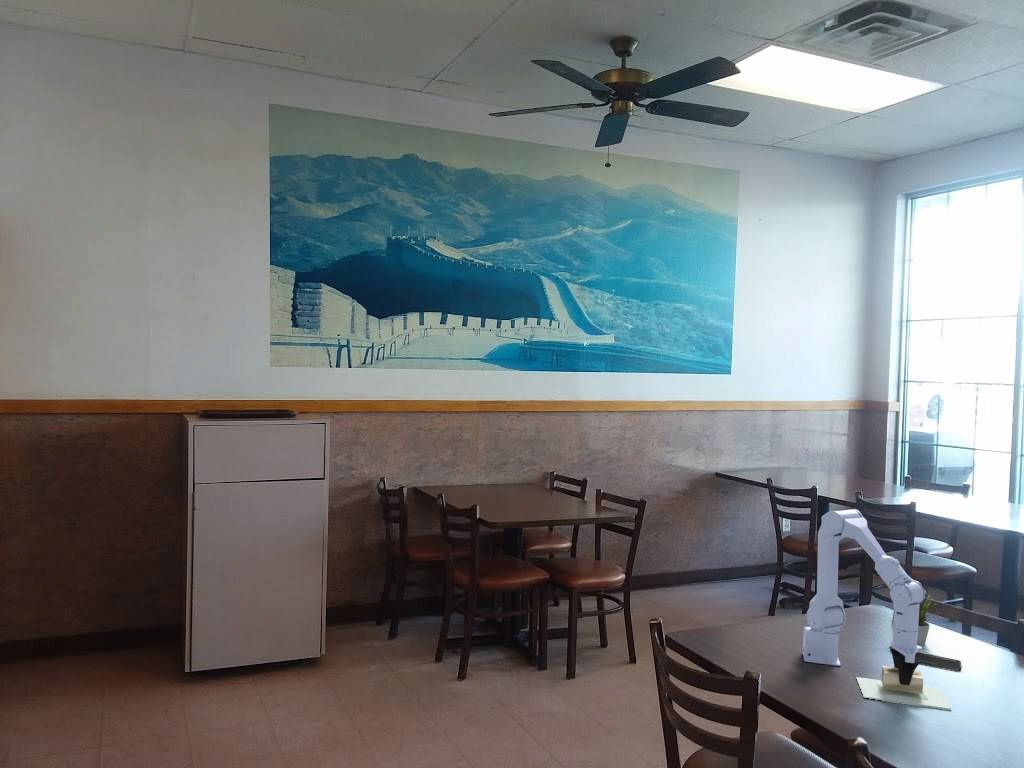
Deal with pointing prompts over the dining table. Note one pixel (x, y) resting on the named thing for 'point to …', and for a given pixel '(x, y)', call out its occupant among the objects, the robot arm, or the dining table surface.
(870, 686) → the mat
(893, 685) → the card box
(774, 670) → the dining table surface
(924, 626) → the house plant
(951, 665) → the phone
